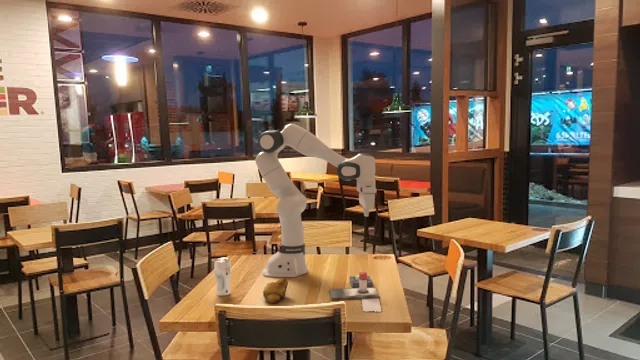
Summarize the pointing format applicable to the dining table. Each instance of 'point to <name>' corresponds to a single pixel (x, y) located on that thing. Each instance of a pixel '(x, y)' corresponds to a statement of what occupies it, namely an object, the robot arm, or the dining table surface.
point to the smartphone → (371, 305)
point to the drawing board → (353, 293)
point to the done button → (356, 278)
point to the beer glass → (222, 276)
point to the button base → (356, 284)
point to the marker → (363, 282)
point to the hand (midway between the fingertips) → (366, 216)
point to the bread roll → (275, 290)
